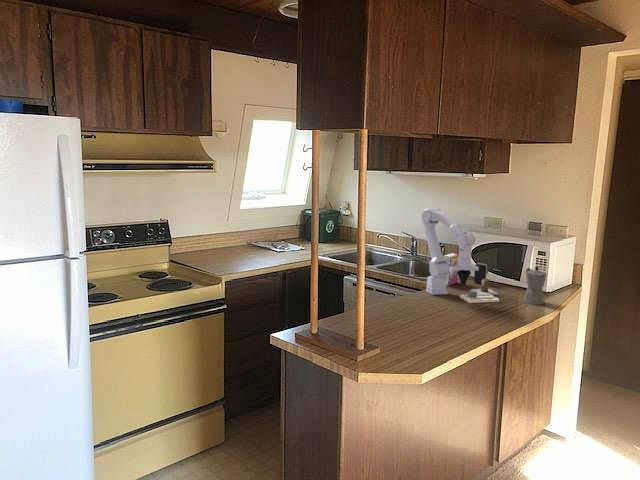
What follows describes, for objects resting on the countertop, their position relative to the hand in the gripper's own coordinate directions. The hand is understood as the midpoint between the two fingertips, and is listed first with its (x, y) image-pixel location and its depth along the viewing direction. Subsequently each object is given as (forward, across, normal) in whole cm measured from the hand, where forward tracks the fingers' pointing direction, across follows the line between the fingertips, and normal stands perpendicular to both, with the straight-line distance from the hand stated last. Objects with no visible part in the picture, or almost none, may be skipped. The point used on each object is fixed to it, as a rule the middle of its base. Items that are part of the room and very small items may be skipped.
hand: (463, 285), depth 257 cm
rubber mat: (+8, +18, +11) cm, 23 cm away
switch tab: (+6, +5, 0) cm, 8 cm away
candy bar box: (+8, +8, +31) cm, 33 cm away
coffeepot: (+8, +34, -7) cm, 36 cm away
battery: (+8, +26, +29) cm, 40 cm away
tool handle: (+7, +18, +11) cm, 23 cm away
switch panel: (+8, +10, 0) cm, 12 cm away
